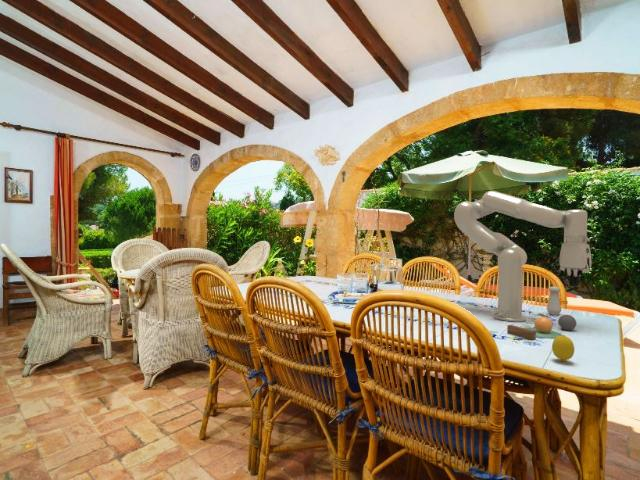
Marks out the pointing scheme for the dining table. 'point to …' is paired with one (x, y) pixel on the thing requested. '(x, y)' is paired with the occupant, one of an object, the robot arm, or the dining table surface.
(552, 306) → the salt shaker
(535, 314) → the dining table surface
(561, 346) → the lemon
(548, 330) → the orange ball
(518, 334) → the stopper wall
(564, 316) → the charcoal ball
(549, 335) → the green mark
